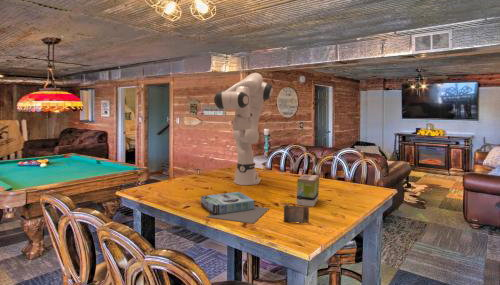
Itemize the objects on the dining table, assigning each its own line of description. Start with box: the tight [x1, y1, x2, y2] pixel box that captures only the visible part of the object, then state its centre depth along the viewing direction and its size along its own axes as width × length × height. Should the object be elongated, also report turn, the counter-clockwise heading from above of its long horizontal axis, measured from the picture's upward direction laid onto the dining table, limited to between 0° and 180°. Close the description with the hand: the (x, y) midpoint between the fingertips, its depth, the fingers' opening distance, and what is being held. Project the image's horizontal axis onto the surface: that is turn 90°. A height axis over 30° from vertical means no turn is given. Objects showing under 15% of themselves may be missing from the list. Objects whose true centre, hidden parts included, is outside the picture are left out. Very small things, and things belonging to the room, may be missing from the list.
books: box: [283, 202, 310, 225], centre depth 153 cm, size 11×3×10 cm, turn 77°
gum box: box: [200, 191, 255, 215], centre depth 174 cm, size 19×5×23 cm
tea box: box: [295, 173, 320, 207], centre depth 185 cm, size 15×10×15 cm
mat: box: [206, 205, 270, 225], centre depth 166 cm, size 24×24×1 cm
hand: (242, 137), depth 196 cm, fingers closed
